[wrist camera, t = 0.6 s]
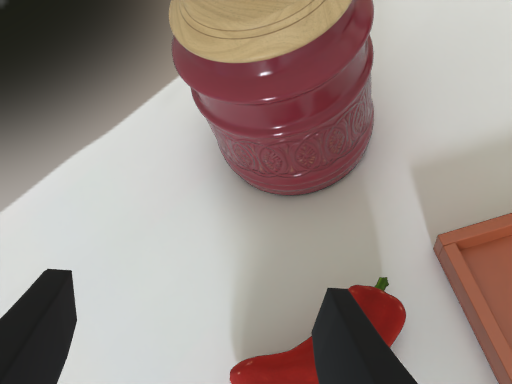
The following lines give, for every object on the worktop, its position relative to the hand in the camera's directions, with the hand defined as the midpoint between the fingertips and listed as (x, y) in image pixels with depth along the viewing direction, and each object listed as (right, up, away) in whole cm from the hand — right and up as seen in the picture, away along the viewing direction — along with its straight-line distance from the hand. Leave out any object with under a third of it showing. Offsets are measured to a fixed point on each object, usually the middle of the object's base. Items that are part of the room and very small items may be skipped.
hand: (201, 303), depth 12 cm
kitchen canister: (+5, +8, +25) cm, 26 cm away
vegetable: (+6, -8, +15) cm, 18 cm away
